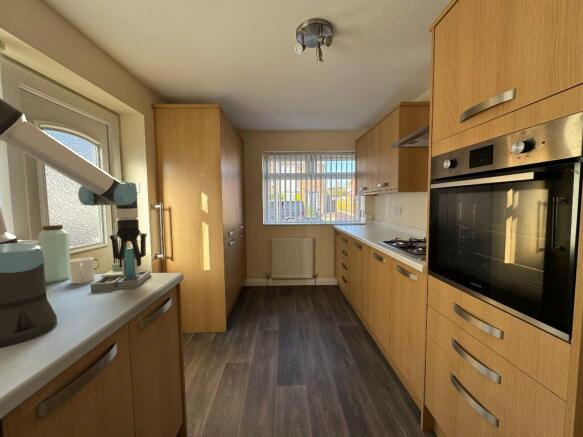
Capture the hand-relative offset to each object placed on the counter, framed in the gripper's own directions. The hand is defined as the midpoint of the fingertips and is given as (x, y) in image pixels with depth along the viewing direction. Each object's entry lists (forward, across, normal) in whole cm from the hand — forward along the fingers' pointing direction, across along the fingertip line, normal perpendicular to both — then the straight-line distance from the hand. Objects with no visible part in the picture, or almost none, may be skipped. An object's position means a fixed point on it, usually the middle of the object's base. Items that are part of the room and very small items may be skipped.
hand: (131, 274), depth 106 cm
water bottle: (+5, +37, -17) cm, 41 cm away
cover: (+1, +8, -7) cm, 11 cm away
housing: (+5, +4, -3) cm, 7 cm away
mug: (+5, +23, -10) cm, 26 cm away
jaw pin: (+1, 0, 0) cm, 1 cm away
